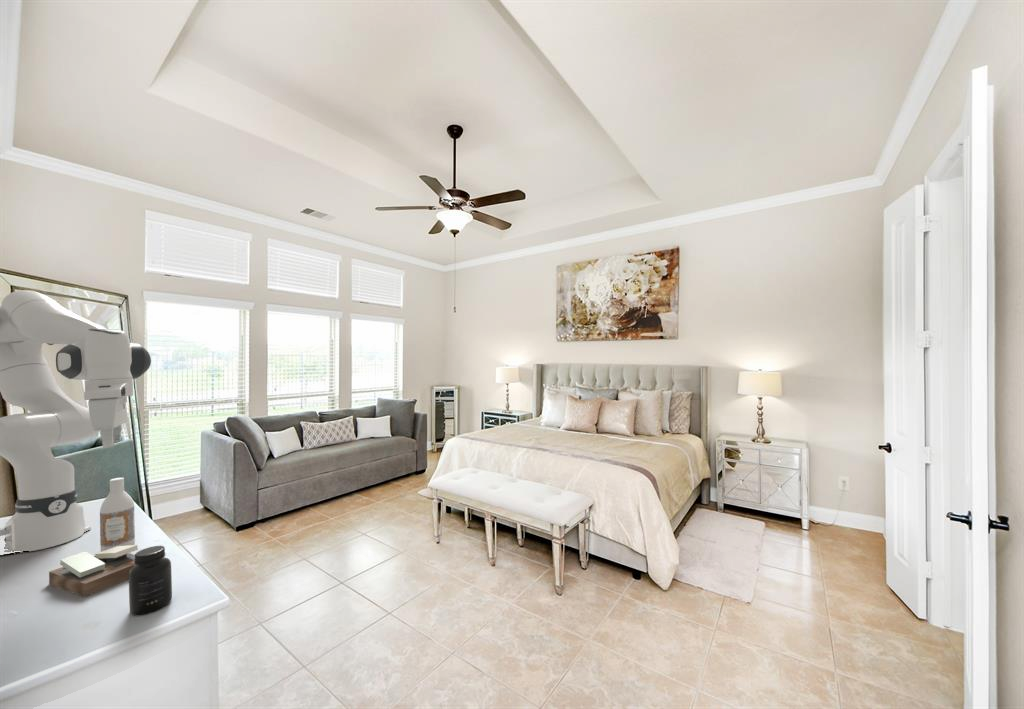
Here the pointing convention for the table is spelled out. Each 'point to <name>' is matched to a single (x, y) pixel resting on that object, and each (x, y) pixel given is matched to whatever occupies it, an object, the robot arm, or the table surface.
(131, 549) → the block
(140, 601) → the supplement bottle
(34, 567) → the table surface
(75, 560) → the block
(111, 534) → the bath foam
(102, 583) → the switch plate
